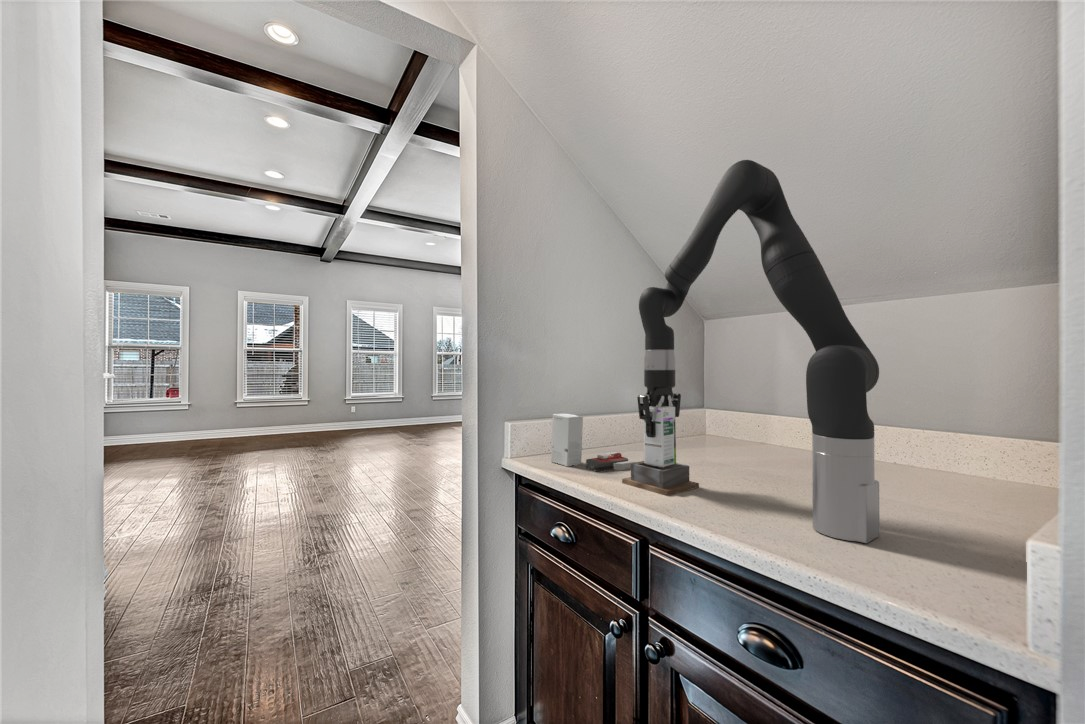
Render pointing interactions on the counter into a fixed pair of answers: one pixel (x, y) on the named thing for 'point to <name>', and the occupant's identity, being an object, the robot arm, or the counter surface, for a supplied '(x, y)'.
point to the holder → (661, 478)
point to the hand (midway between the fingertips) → (659, 435)
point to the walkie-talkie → (609, 462)
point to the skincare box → (566, 439)
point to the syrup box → (661, 438)
